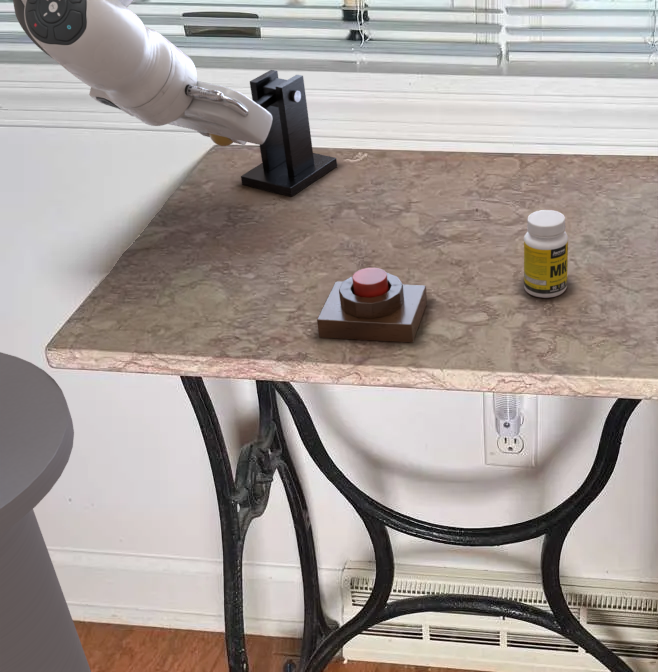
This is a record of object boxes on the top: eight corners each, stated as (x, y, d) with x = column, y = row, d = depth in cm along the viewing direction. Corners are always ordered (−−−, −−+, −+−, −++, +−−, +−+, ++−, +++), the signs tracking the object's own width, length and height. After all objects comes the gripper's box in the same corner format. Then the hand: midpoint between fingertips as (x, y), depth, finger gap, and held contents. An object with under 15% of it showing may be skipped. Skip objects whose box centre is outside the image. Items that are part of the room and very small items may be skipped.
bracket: (291, 196, 150) (277, 97, 141) (242, 184, 153) (225, 87, 145) (337, 166, 156) (326, 69, 148) (288, 155, 159) (275, 60, 151)
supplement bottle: (554, 303, 127) (554, 232, 122) (516, 292, 129) (515, 222, 124) (575, 283, 130) (576, 213, 125) (537, 273, 132) (537, 203, 127)
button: (350, 298, 123) (348, 283, 121) (358, 281, 125) (356, 266, 124) (384, 300, 122) (383, 285, 121) (391, 282, 125) (390, 268, 124)
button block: (319, 337, 124) (314, 304, 121) (337, 298, 130) (333, 266, 127) (412, 342, 122) (410, 309, 120) (427, 303, 128) (425, 270, 126)
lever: (228, 153, 140) (222, 126, 138) (206, 148, 142) (199, 121, 139) (298, 103, 149) (293, 77, 147) (276, 98, 150) (271, 72, 148)
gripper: (239, 69, 125) (306, 124, 138) (97, 41, 133) (172, 96, 146) (219, 125, 125) (287, 175, 137) (78, 93, 133) (155, 144, 146)
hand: (227, 134), depth 142 cm, fingers closed on lever, 3 cm apart
